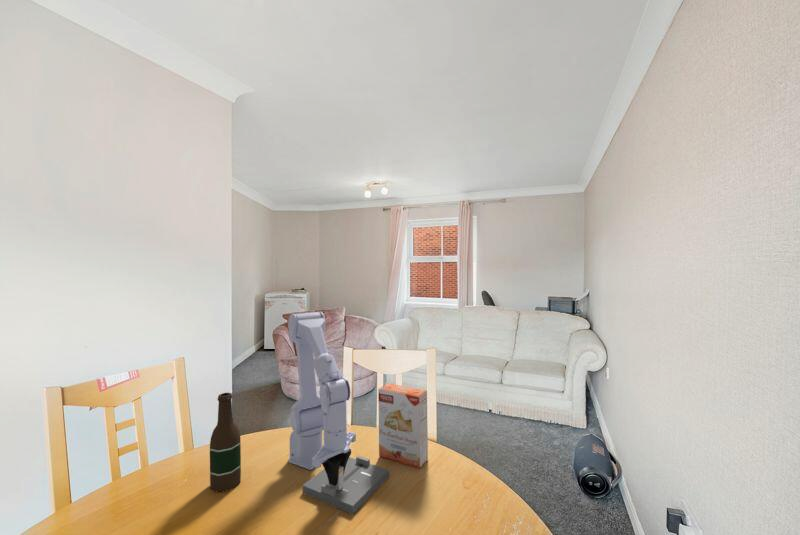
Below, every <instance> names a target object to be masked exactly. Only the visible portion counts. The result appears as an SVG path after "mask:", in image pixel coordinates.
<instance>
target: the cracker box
mask: <svg viewBox="0 0 800 535" xmlns="http://www.w3.org/2000/svg"><path fill="white" fill-rule="evenodd" d="M377 390H378V392H377V393H378V402H377V403H378V456H379V457H382V458H383V459H384V458H385V459H388V460H392V461H395V462H398V463H401V464H404V465H408V466H410V467H414V468H416V469H421V468H422V467H423V465H424V464H425V463H426V461H428V459H429V450H428V447H429V442H428V440H429V439H428V438H429V437H428V436H429V435H428V434H429V432H428V390H425V389H419V388H415V387H409V386H404V385H403V386H402V385H398V384H393V383H386V384H384V385H383V386H381V387H379V388H378V389H377Z"/></svg>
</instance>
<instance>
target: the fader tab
mask: <svg viewBox="0 0 800 535" xmlns="http://www.w3.org/2000/svg"><path fill="white" fill-rule="evenodd" d="M328 485H329V486H331V487H334V488H336V489H337V490H341V489H342V488H343V487H344V482H343V467H342V466H339V471H338V482H337V485H336V486H334V485H332V484H329V481H328Z"/></svg>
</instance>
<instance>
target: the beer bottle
mask: <svg viewBox="0 0 800 535" xmlns="http://www.w3.org/2000/svg"><path fill="white" fill-rule="evenodd" d="M232 399H233V393H231V392H224V393H223V392H222V393H220V394H219V395H218V396H217V401H218V406H217V407H218V409H217V410H218V411H217V423H216V425H215V427H214V428H213V430H212V434H211V435H210V441H209V484H210V485H209V486H210V487H209V488H210V491H212V490H214V491H213V492H215V491H217V492H216V493H219V492H220V493H224V492H227V491H226V490H228V491H231V490H230V489H232V488H233V489H235V486H236V487H237V486H238V485H239V483H241V474H242V465H241V464H242V462H241V461H242V460H241V459H242V458H241V457H242V456H241V455H242V454H241V452H242V450H241V448H242V446H241V445H242V444H241V430H240V428H239V426H238V425H237V423H236V422H235V421H234V417H233V404H232ZM233 489H232V490H233ZM223 491H224V492H223Z"/></svg>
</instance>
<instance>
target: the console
mask: <svg viewBox="0 0 800 535" xmlns="http://www.w3.org/2000/svg"><path fill="white" fill-rule="evenodd" d="M389 472H390V471H389V469H387V468H384V467H381V466H377V465H374V464H371V459H370V458H367V457H364V456H360V455H357V456H356V458H353V457H351V456H350V457H349V459H348V461H347V464H346V467H345V471H344V476H343V482H344V487H343V488H342V489H341V490H337V489H336V488H334V487H331V486H329V485H328V477H327V474H326V471H325V469H322V470H321V471H320V472H318V473H317V474H315V475H314V476H313V477H311V478H310V479H309V480H307V481H306V482H305V483H303V484H302V494H303V495H306V496H309V497H311V498H313V499H315V500H318V501H319V502H323V503H325V504H327V505H330V506H331V507H334V508H336V509H339V510H342V511H343V512H346V513H348V514H350V515H354V514H355V513H357V511H358V510H359V509H360V508H361V507H362V506H363V505H364V504H365V502H367V501H368V500H369V499H370V497H372V496H373V495H374V494H375V492H376V491H377V490H378V489H379V488H381V486H382V485H383V484H384V483H385V482H386V481H387V479H389V478H390V477H389V475H390V473H389Z"/></svg>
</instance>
